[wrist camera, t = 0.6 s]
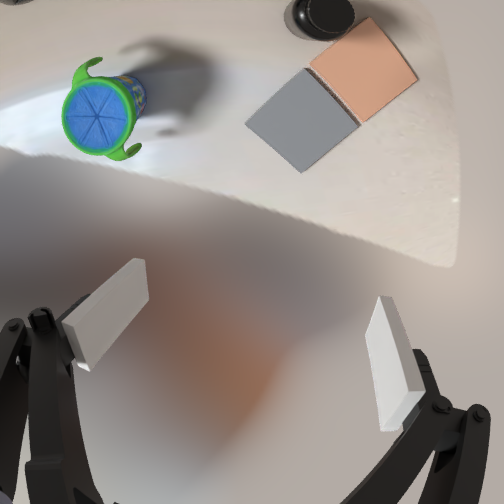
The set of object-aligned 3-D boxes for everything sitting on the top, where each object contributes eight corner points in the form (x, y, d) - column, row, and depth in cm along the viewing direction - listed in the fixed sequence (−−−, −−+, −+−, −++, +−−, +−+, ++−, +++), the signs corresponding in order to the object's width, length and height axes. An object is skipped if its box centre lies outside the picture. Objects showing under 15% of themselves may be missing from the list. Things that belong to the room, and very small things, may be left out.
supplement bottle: (334, 41, 30) (365, 46, 22) (285, 40, 31) (298, 42, 22) (331, -2, 26) (362, -12, 17) (281, -4, 26) (293, -19, 17)
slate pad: (244, 122, 39) (244, 124, 39) (303, 68, 33) (304, 68, 33) (300, 171, 45) (301, 173, 44) (356, 124, 39) (358, 126, 38)
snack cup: (82, 66, 31) (44, 81, 23) (142, 40, 30) (112, 46, 22) (112, 150, 41) (85, 181, 34) (169, 133, 40) (150, 161, 33)
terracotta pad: (308, 63, 33) (309, 64, 32) (368, 17, 27) (370, 17, 26) (361, 121, 39) (362, 122, 38) (414, 78, 33) (417, 79, 32)
